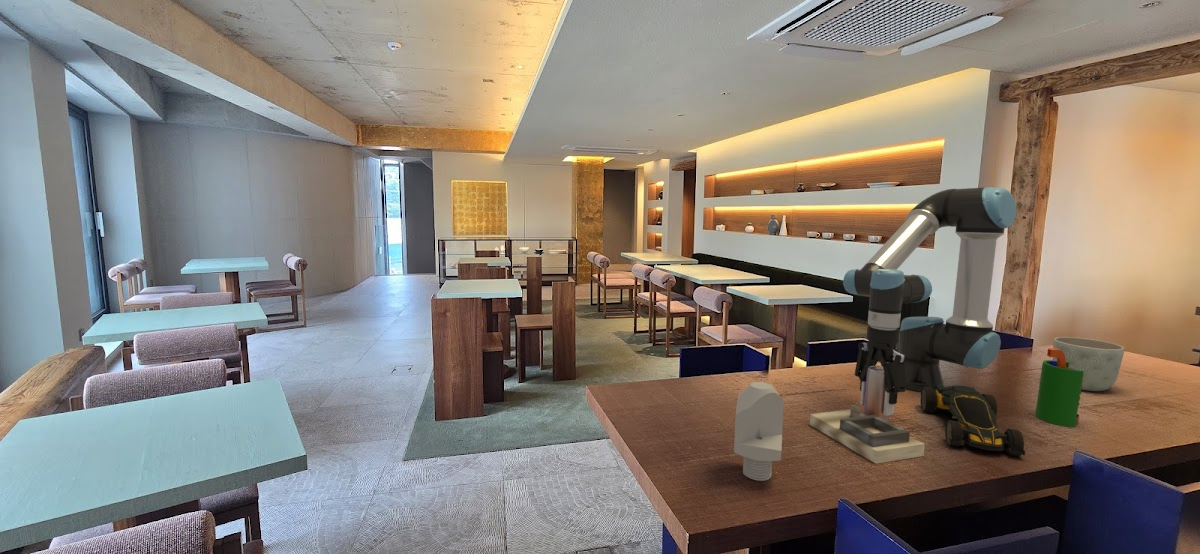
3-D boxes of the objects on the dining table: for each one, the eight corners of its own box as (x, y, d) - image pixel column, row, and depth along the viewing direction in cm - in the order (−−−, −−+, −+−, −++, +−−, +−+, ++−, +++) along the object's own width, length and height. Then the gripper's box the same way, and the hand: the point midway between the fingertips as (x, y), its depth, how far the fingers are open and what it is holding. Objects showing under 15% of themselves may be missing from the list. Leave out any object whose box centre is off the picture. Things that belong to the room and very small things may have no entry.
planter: (1109, 384, 169) (1115, 341, 167) (1126, 400, 155) (1133, 352, 153) (1043, 375, 178) (1048, 334, 176) (1054, 389, 164) (1059, 344, 162)
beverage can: (858, 417, 139) (862, 365, 137) (878, 417, 140) (883, 365, 138) (872, 426, 133) (876, 372, 131) (893, 426, 134) (897, 372, 132)
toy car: (986, 414, 143) (989, 381, 142) (1031, 464, 114) (1036, 423, 113) (919, 405, 149) (922, 373, 148) (945, 451, 120) (949, 411, 119)
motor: (1089, 428, 134) (1098, 356, 131) (1050, 425, 135) (1059, 353, 133) (1062, 414, 143) (1071, 346, 141) (1026, 411, 145) (1034, 344, 143)
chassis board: (809, 424, 134) (811, 403, 133) (852, 419, 138) (853, 398, 137) (875, 463, 113) (877, 438, 112) (923, 456, 117) (925, 431, 116)
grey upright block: (732, 480, 105) (736, 389, 103) (737, 460, 114) (740, 376, 111) (779, 489, 102) (784, 395, 99) (780, 468, 111) (785, 381, 108)
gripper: (843, 320, 142) (838, 397, 145) (904, 336, 123) (896, 425, 125) (865, 318, 144) (859, 395, 147) (928, 335, 125) (920, 422, 128)
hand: (876, 409), depth 136 cm, fingers open, 7 cm apart
